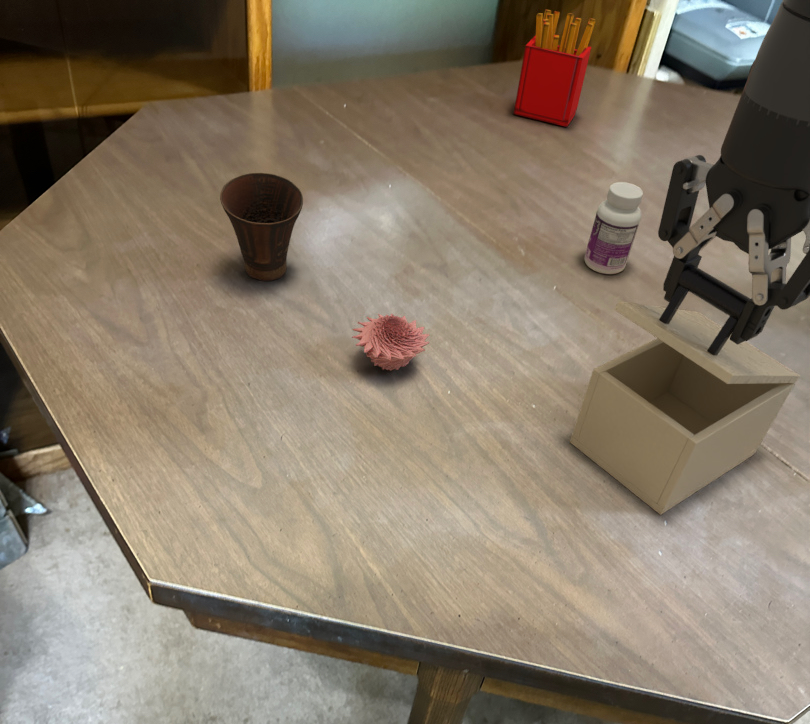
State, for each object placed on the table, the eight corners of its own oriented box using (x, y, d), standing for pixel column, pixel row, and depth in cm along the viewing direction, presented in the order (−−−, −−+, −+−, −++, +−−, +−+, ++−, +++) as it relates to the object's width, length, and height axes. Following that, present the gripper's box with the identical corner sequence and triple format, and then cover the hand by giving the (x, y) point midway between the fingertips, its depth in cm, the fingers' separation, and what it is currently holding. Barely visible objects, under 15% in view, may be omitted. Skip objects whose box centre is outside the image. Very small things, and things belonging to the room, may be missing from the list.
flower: (440, 376, 80) (446, 331, 76) (372, 396, 77) (375, 350, 73) (403, 335, 85) (407, 290, 80) (337, 352, 82) (338, 306, 77)
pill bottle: (588, 249, 100) (609, 174, 93) (628, 260, 99) (652, 185, 92) (578, 268, 97) (599, 193, 89) (620, 280, 96) (644, 204, 88)
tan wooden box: (660, 515, 70) (696, 443, 63) (569, 442, 75) (593, 368, 69) (754, 454, 76) (795, 383, 70) (664, 391, 82) (694, 319, 75)
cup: (249, 305, 86) (241, 219, 78) (215, 266, 90) (205, 181, 83) (318, 286, 89) (318, 202, 82) (282, 249, 94) (279, 166, 86)
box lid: (726, 384, 59) (773, 317, 56) (614, 309, 64) (650, 244, 61) (795, 383, 69) (836, 327, 67) (693, 319, 75) (728, 264, 72)
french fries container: (524, 101, 131) (542, 5, 120) (576, 114, 129) (599, 17, 119) (512, 116, 127) (530, 17, 116) (566, 129, 125) (588, 30, 114)
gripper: (935, 126, 48) (806, 350, 61) (746, 51, 55) (666, 266, 68) (874, 149, 45) (751, 381, 58) (681, 65, 52) (609, 289, 64)
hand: (705, 318), depth 63 cm, fingers closed on box lid, 6 cm apart
